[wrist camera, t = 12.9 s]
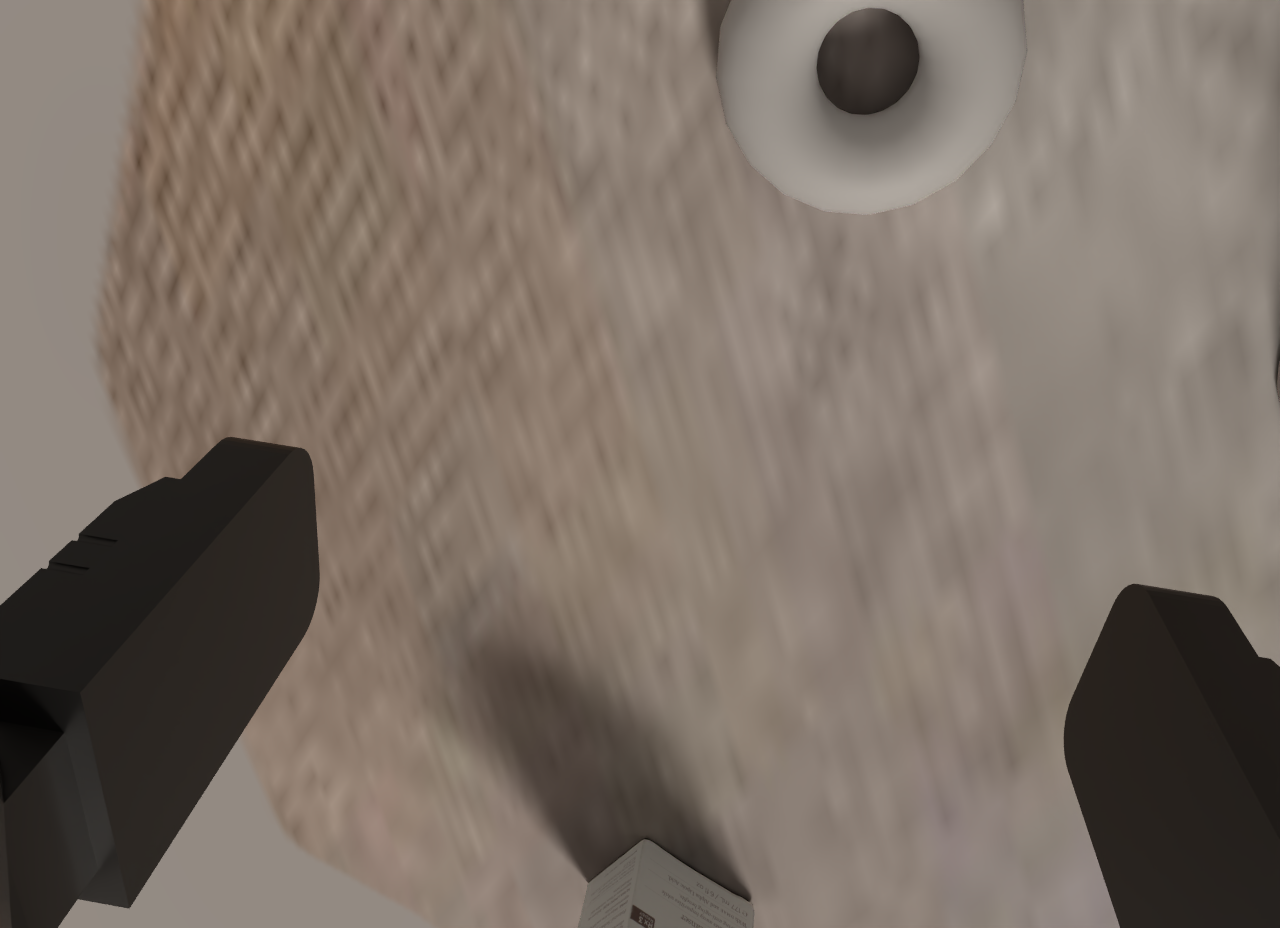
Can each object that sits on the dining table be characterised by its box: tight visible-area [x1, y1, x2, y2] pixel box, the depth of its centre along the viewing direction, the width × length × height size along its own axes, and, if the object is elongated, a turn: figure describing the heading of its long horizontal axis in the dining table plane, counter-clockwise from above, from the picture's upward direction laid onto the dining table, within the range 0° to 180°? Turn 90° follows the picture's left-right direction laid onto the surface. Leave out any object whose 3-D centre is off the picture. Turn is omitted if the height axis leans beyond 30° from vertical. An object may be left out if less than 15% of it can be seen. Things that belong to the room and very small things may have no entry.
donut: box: [716, 0, 1027, 215], centre depth 33 cm, size 10×4×10 cm
